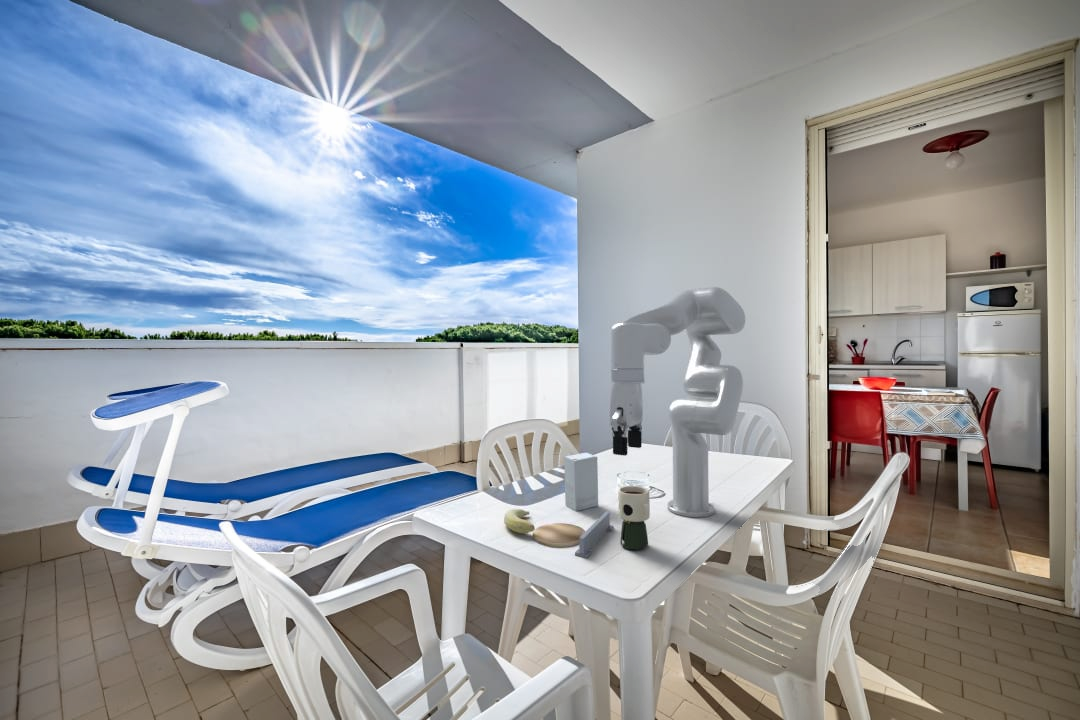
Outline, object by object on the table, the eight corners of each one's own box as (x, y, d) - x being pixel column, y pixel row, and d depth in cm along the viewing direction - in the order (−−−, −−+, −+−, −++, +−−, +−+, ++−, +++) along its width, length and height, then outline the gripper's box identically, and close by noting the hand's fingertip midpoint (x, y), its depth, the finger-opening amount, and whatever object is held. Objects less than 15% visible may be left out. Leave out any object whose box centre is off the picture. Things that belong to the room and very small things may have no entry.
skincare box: (587, 500, 136) (586, 451, 136) (599, 506, 131) (598, 455, 130) (563, 505, 132) (563, 455, 132) (575, 512, 127) (574, 459, 126)
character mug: (608, 540, 108) (607, 485, 107) (632, 534, 110) (632, 481, 110) (635, 558, 98) (634, 499, 97) (662, 552, 100) (661, 494, 100)
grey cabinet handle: (602, 526, 116) (602, 510, 116) (613, 528, 115) (613, 512, 115) (574, 555, 100) (574, 537, 100) (587, 557, 98) (587, 539, 98)
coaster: (547, 522, 119) (547, 519, 119) (593, 530, 113) (593, 527, 113) (523, 541, 108) (523, 538, 108) (573, 551, 102) (573, 548, 102)
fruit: (505, 538, 108) (504, 525, 108) (503, 517, 123) (502, 505, 123) (535, 535, 109) (534, 521, 109) (529, 514, 124) (528, 502, 124)
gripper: (625, 375, 113) (625, 443, 113) (597, 377, 98) (597, 456, 98) (654, 375, 109) (654, 446, 110) (630, 378, 95) (630, 460, 95)
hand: (627, 450), depth 104 cm, fingers open, 9 cm apart
